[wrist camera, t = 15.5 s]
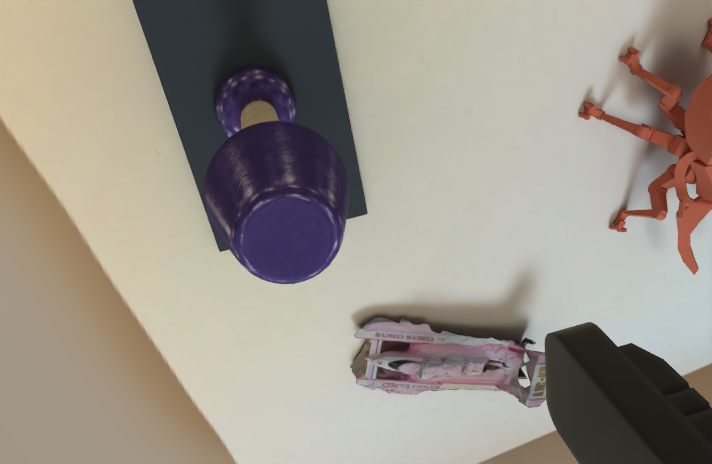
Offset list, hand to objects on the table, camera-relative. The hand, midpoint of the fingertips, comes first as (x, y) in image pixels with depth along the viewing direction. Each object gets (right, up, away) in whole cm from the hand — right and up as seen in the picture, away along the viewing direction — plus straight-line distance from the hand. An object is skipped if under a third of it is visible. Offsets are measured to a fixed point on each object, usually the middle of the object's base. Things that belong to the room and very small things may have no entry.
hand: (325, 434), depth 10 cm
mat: (-5, +10, +21) cm, 24 cm away
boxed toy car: (+7, -5, +31) cm, 32 cm away
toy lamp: (-5, +10, +20) cm, 23 cm away
